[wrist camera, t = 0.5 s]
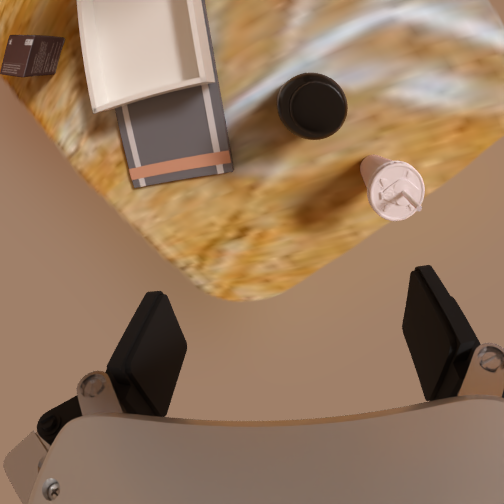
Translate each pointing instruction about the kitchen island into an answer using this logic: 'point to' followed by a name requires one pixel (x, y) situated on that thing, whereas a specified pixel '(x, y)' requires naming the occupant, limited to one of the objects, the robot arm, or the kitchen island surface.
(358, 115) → the kitchen island surface
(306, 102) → the supplement bottle
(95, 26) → the white tray
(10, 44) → the box
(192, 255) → the kitchen island surface
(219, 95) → the rail board
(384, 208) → the smoothie
